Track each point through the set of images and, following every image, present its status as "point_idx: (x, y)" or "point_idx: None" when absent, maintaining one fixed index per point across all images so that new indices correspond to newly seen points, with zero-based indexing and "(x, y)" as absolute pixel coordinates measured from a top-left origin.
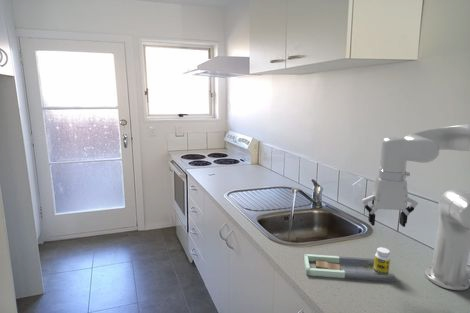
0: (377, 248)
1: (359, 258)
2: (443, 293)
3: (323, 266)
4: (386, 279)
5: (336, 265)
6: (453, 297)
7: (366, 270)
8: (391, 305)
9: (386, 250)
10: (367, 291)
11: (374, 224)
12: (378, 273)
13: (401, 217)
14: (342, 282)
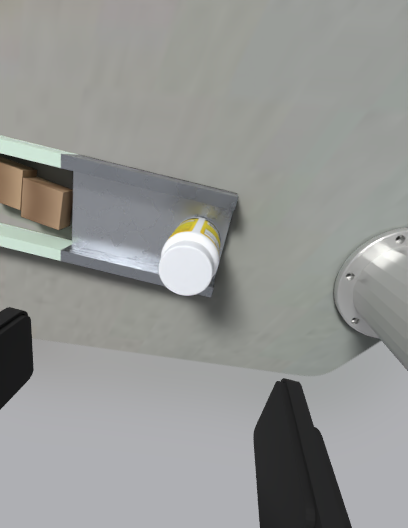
0: (164, 254)
1: (139, 179)
2: (320, 332)
3: (6, 200)
4: None
5: (51, 199)
6: (331, 347)
7: (154, 225)
8: (158, 348)
9: (197, 276)
10: (124, 300)
11: (26, 381)
12: None
13: (278, 482)
14: None
